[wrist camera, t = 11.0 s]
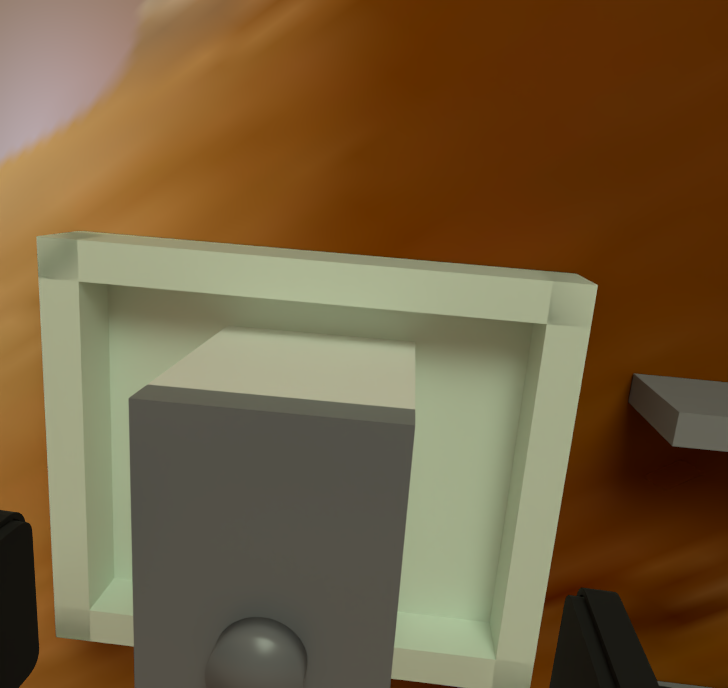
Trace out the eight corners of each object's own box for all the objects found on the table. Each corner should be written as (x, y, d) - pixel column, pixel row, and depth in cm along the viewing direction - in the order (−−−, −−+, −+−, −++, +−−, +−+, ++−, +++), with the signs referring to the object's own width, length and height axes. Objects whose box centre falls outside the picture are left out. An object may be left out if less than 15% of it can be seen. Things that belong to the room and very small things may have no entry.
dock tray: (576, 273, 16) (597, 285, 14) (516, 644, 19) (528, 695, 17) (79, 230, 17) (36, 236, 15) (91, 593, 20) (56, 636, 18)
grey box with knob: (415, 342, 17) (415, 438, 10) (393, 577, 18) (381, 787, 12) (227, 325, 17) (112, 410, 10) (223, 558, 19) (122, 753, 12)
